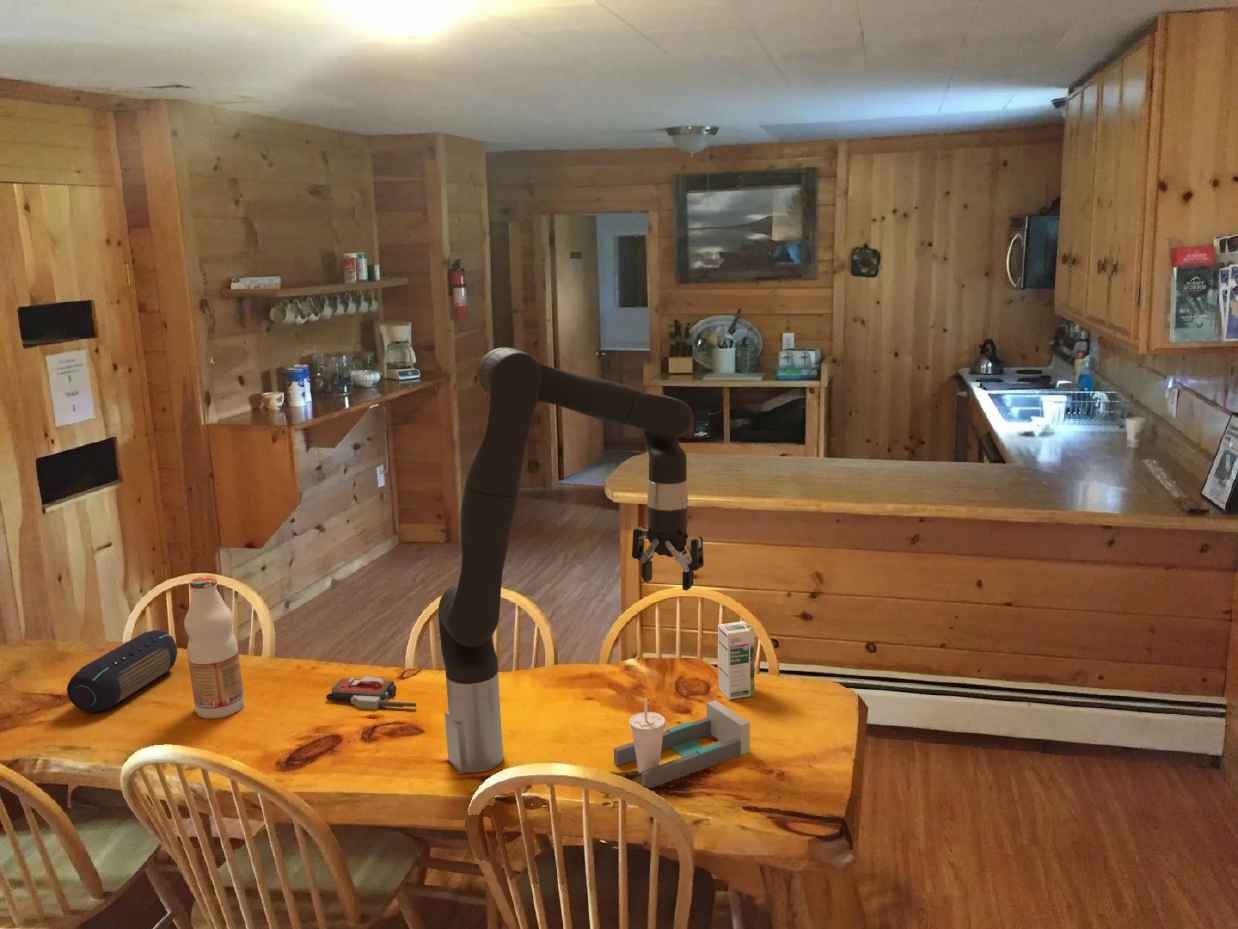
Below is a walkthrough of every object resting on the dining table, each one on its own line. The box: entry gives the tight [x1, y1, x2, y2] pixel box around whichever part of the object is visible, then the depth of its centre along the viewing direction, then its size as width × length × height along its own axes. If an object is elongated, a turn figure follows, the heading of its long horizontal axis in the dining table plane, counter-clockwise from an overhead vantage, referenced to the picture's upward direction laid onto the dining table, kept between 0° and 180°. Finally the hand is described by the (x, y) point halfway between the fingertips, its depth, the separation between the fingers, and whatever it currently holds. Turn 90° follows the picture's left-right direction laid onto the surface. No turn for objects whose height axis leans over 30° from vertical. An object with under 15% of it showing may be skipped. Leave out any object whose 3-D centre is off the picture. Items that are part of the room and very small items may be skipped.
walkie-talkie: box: [325, 676, 417, 711], centre depth 206 cm, size 9×4×20 cm
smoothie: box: [628, 697, 667, 774], centre depth 176 cm, size 6×6×14 cm
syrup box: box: [717, 620, 755, 701], centre depth 204 cm, size 6×6×14 cm
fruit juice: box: [183, 574, 245, 719], centre depth 201 cm, size 9×9×28 cm
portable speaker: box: [66, 629, 178, 713], centre depth 213 cm, size 25×10×10 cm, turn 165°
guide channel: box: [613, 699, 751, 789], centre depth 180 cm, size 22×11×6 cm, turn 121°
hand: (667, 585), depth 191 cm, fingers open, 8 cm apart
